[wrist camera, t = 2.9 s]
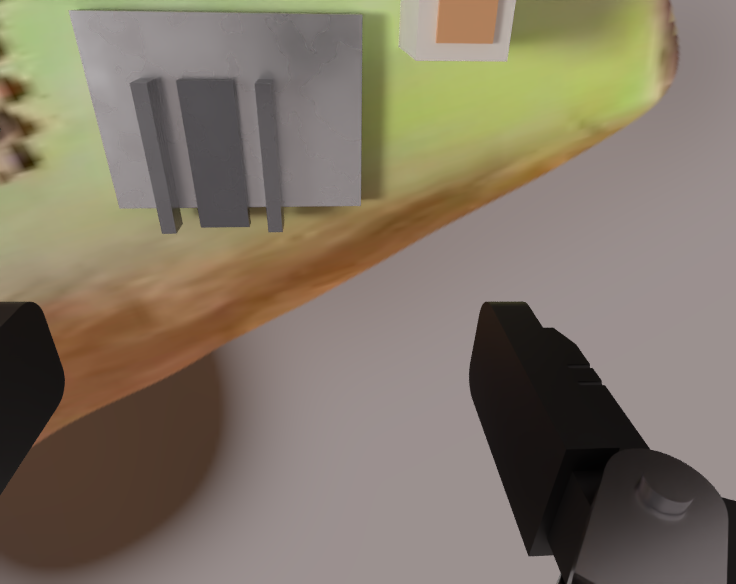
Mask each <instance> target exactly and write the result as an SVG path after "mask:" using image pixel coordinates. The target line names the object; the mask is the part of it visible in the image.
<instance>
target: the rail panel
mask: <svg viewBox="0 0 736 584" xmlns="http://www.w3.org/2000/svg"><path fill="white" fill-rule="evenodd" d="M69 14H70V18H71V21H72V25H73V29H74V33H75V37H76V41H77V45H78V49H79V53H80V56H81V60H82V64H83V68H84V72H85V76H86V80H87V84H88V87H89V91H90V95H91V99H92V103H93V107H94V111H95V115H96V119H97V122H98V126H99V130H100V134H101V138H102V142H103V146H104V150H105V153H106V157H107V161H108V165H109V169H110V173H111V177H112V181H113V185H114V188H115V192H116V196H117V200H118V204H119V208H157V212H158V217H159V221H160V226H161V231H162V234H173V233H177V232H178V230H179V229H180V227H181V225H182V224H183V223H182V218H181V212H180V208H198V213H199V218H200V224H201V227H250V224H251V220H250V211H249V207H266V210H267V220H268V231H269V232H283V227H284V210H283V207H298V206H361V125H362V14H339V13H271V12H204V11H136V10H69Z"/></svg>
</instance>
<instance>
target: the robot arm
mask: <svg viewBox="0 0 736 584" xmlns="http://www.w3.org/2000/svg"><path fill="white" fill-rule="evenodd" d="M469 383H470V391H471V396H472V399H473V402H474V405H475V408H476V411H477V413H478V416H479V419H480V422H481V425H482V427H483V430H484V433H485V436H486V439H487V441H488V444H489V447H490V450H491V453H492V455H493V458H494V461H495V464H496V466H497V469H498V472H499V475H500V478H501V481H502V483H503V486H504V489H505V492H506V494H507V497H508V500H509V503H510V506H511V508H512V511H513V514H514V517H515V520H516V523H517V525H518V528H519V531H520V534H521V537H522V539H523V542H524V545H525V548H526V550H527V553H528V556H545V555H554V557H555V560H556V562H557V565H558V567H559V570H560V572H561V574H560V576H559V579H558V581H557V584H736V501H734V500H729V499H726V498H722V497H721V496H720V494H719V493H718V492H717V490H716V489H715V488H714V486H713V485H712V484H711V483H710V482H709V481H708V480H707V479H706V478H705V477H704V476H702V475H701V474H700V473H699V472H697V471H696V470H695V469H693V468H692V467H691V466H689V465H687V464H686V463H684V462H682V461H681V460H679V459H676V458H674V457H672V456H670V455H667V454H664V453H662V452H658V451H654V450H650V448H649V447H648V446H647V444H646V443H645V441H644V440H643V439H642V437H641V436H640V434H639V433H638V431H637V430H636V429H635V427H634V426H633V425H632V423H631V422H630V420H629V419H628V417H627V416H626V415H625V413H624V412H623V410H622V409H621V407H620V406H619V405H618V403H617V402H616V400H615V399H614V398H613V396H612V395H611V393H610V392H609V390H608V389H607V388H606V386H605V385H602V381H601V379H600V378H599V376H598V375H597V373H596V372H595V371H594V369H593V368H590V364H589V362H588V361H587V360H586V358H585V357H584V355H583V354H582V352H581V351H580V349H579V348H578V347H577V345H576V344H575V343H573V342H572V341H571V340H569V339H568V338H567V337H565V336H564V335H563V334H561V333H560V332H558V331H557V330H556V329H554V328H543V327H542V325H541V324H540V322H539V321H538V319H537V318H536V316H535V315H534V313H533V311H532V310H531V308H530V307H529V305H528V304H527V303H526V302H485V303H484V304H483V305H482V307H481V310H480V314H479V319H478V324H477V330H476V335H475V341H474V346H473V351H472V357H471V362H470V369H469ZM64 386H65V376H64V371H63V367H62V364H61V362H60V359H59V356H58V353H57V350H56V347H55V344H54V342H53V339H52V336H51V333H50V330H49V327H48V324H47V321H46V319H45V316H44V313H43V311H42V309H41V308H40V307H39V305H37V304H36V303H34V302H0V495H1V493H2V492H3V490H4V489H5V487H6V485H7V484H8V482H9V481H10V479H11V478H12V476H13V475H14V473H15V472H16V470H17V469H18V467H19V465H20V464H21V462H22V461H23V459H24V458H25V456H26V455H27V453H28V452H29V450H30V449H31V447H32V445H33V444H34V442H35V441H36V439H37V438H38V436H39V435H40V433H41V432H42V430H43V429H44V427H45V425H46V424H47V422H48V421H49V419H50V418H51V416H52V415H53V413H54V412H55V410H56V408H57V407H58V405H59V403H60V401H61V399H62V396H63V392H64Z"/></svg>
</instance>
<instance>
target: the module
mask: <svg viewBox="0 0 736 584" xmlns="http://www.w3.org/2000/svg"><path fill="white" fill-rule="evenodd" d="M515 3H516V0H401V3H400V27H399V47H400V48H401V49H402V50H403V51H405V52H406V53H407V54H408V55H409V56H411V57H412V58H413V59H414V60H416V61H507V58H508V51H509V44H510V38H511V31H512V24H513V17H514V10H515Z"/></svg>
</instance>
